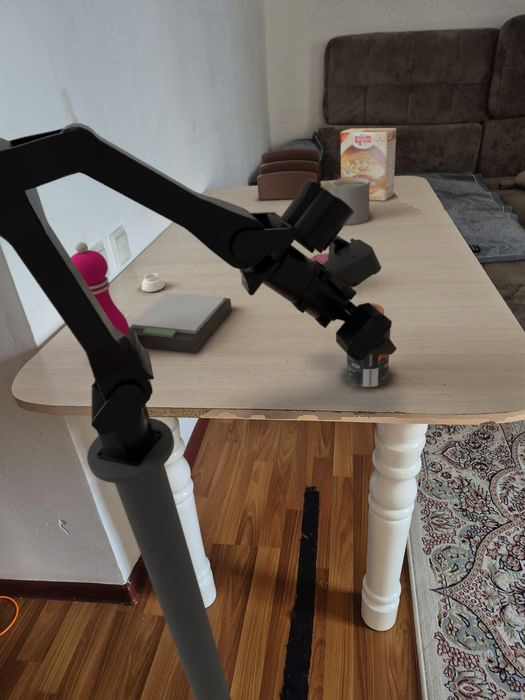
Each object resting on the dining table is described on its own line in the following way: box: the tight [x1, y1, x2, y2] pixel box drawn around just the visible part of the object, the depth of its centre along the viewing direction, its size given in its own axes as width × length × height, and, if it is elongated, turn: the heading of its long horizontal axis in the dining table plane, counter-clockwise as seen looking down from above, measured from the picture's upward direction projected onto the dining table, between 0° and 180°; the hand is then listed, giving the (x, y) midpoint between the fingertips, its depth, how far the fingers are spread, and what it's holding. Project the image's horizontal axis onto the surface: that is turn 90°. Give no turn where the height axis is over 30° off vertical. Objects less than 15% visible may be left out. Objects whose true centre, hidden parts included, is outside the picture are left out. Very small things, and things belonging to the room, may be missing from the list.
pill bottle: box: [346, 302, 391, 388], centre depth 68 cm, size 6×6×11 cm
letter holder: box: [256, 147, 322, 201], centre depth 159 cm, size 10×20×14 cm, turn 77°
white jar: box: [141, 273, 166, 293], centre depth 106 cm, size 5×3×5 cm
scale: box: [129, 292, 233, 354], centre depth 90 cm, size 16×14×3 cm
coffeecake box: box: [340, 127, 397, 202], centre depth 147 cm, size 15×7×20 cm, turn 55°
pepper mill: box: [70, 241, 130, 335], centre depth 79 cm, size 7×7×20 cm
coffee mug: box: [331, 178, 370, 225], centre depth 134 cm, size 13×10×10 cm
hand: (376, 335), depth 68 cm, fingers open, 9 cm apart
